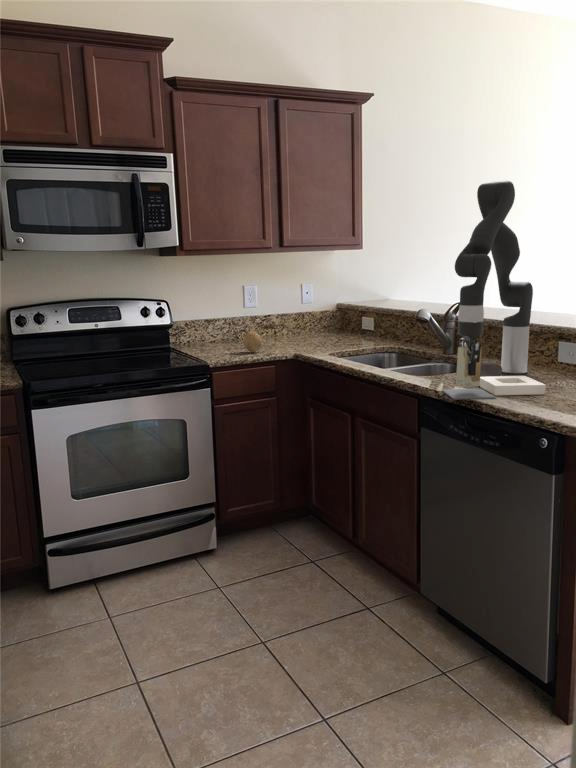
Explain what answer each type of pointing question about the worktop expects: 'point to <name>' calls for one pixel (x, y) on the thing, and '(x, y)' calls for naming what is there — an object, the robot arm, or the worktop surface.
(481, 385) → the holder
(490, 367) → the perforated stone tool
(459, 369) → the skincare box
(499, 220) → the robot arm
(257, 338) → the natural sponge
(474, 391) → the mat
